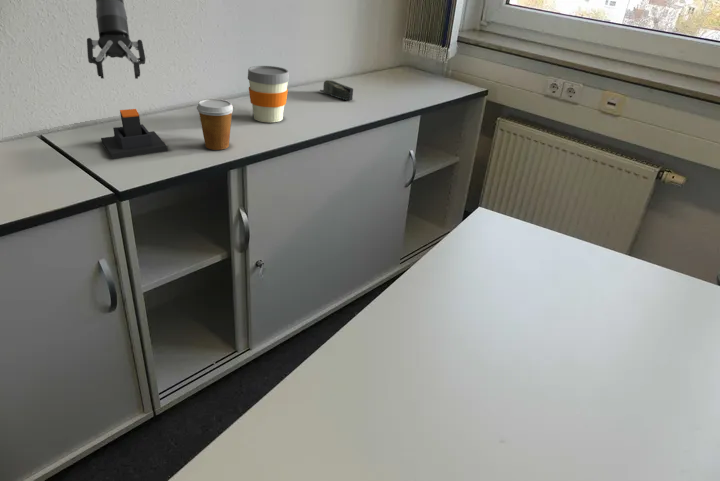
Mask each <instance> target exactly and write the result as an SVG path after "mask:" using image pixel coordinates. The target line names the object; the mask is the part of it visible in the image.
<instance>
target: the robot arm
mask: <svg viewBox="0 0 720 481" xmlns="http://www.w3.org/2000/svg"><path fill="white" fill-rule="evenodd" d="M95 7H96V9H95V13H96V15H95V17H96V23H97V29H98V37H99V38H98V39H97V40H96V39H92V38H91V37H87V38H86V48H87V49H86V50H87V61H88V63H89V64H94V65H95V66H96V74H97V75H98V77H100V79H102V80H103V79H105V77H104V69H103V62H105V61H106V59H107V58H108V57H110V58H113V59H115V58H119V59H123V58H126V59H127V60H128V61H129V62H131V63H132V64H133V72H134V79H135V80H136V79H137V80H138V79H139V77H140V76H141V68H140V65H145V64H146V54H145V49H144V44H143V41H142V39H138V40H137V41H132V40H131V39H130V32H129V25H128V16H127V11H126V7H125V2H124V0H95ZM97 46H98V47H99V48H100V49H101V50H100V51H99V53H98V55H97V56H94V50H95V49H96V48H97ZM132 48H134V49H135V51H138V56H139V57H137V56H136V55H135V54H134V52H133V51H132V50H131V49H132Z"/></svg>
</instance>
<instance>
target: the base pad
mask: <svg viewBox="0 0 720 481" xmlns="http://www.w3.org/2000/svg"><path fill="white" fill-rule="evenodd" d="M140 124H141V123H140ZM112 130H113V135H114V136H113V135H112V136H105V137H101V138H100V141H101V144H102V146H103V147H104V150H106V152H107V154H108V155H109V157H110V158H111V160H114V159H115V160H116V159H117V160H118V159H122V158H123V159H124V158H129V157H130V158H131V157H136V156H142V155H144V156H145V155H149V154H156V153H163V152H168V145H167V144H166V143H165V142H164V141H163V139H162V138H161V137H160V136H159V135H158V133H156V131H155V130H152V131H149V129H148V128H146V126H145V125H144V124H143V123H142V124H141V131H142V135H136V136H128V137H124V133H123V127H122V126H117V127H116V126H115V127H113V128H112Z"/></svg>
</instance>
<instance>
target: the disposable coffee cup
mask: <svg viewBox="0 0 720 481" xmlns="http://www.w3.org/2000/svg"><path fill="white" fill-rule="evenodd" d="M232 104H233V103H232V102H231V101H230V100H226V99H222V98H207V99H201V100H200V101H198V103H197V106H196V110H197V112H198V115H199V121H200V125H201V130H202V135H203V136H202V137H203V141H204V145H205V148H206V149H208V150H212V151H222V150H226V149H228V148H229V147H230V138H231V127H232V117H233V116H232V114H233V111H234V110H235V109H234V107H233V105H232Z"/></svg>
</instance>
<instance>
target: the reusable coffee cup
mask: <svg viewBox="0 0 720 481" xmlns="http://www.w3.org/2000/svg"><path fill="white" fill-rule="evenodd" d="M247 80H248V82H249V86H248V93H249V100H250V104H252V105H251V106H252V112H253V119H254V120H256V121H258V122H260V123H278V122H282V121H283V119H284V111H285V106H286V104H287V98H288V93H289V89H288V84H289V83H288V82H289V81H290V76H289V70H288V69H286V68H284V67H280V66H275V65H273V66H272V65H255V66H250V67H249V68H248V70H247Z"/></svg>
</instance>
